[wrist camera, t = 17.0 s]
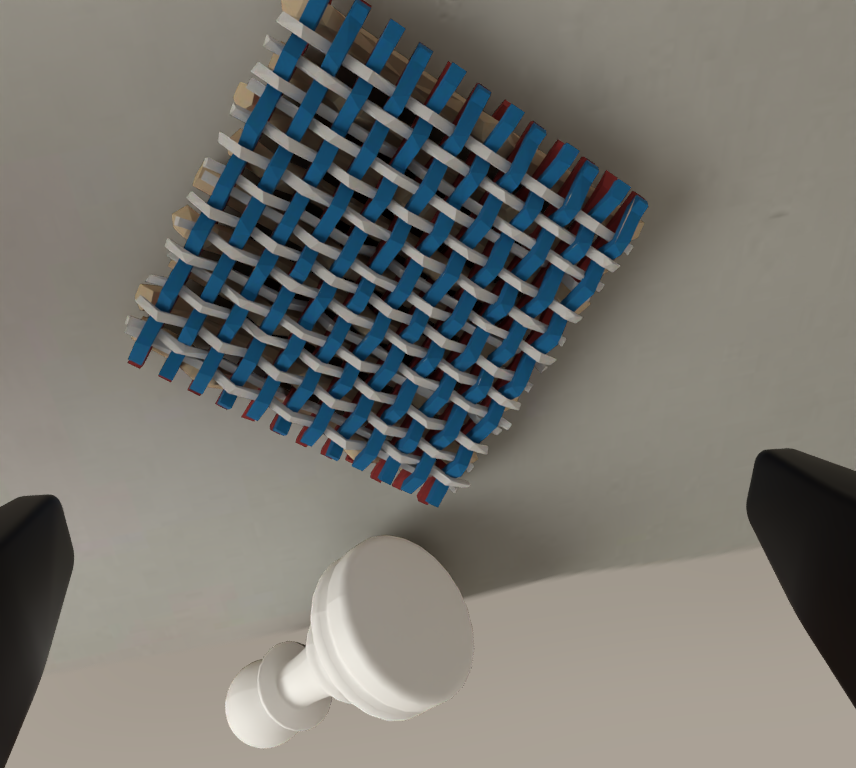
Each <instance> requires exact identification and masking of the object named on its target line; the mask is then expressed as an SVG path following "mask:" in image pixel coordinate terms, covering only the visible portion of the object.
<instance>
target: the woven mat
mask: <svg viewBox="0 0 856 768" xmlns="http://www.w3.org/2000/svg"><path fill="white" fill-rule="evenodd" d="M331 2H332V0H281V3H282V13H281V15H280V16H279V17H278V19H277V20H276V22H277V23H279V24H280V25H282V26H283V27H285V28H286V29H288V30H289V31H291V32H292V34H291V36H290V38H289V39H288V41H287V43H286V44H285V43H283V42H282V41H281V42H279V41H277V40H276V39H274V38H272V37H271V36H269V35H267V36H266V39H265V42H264V45H263V47H265V48H267V49H268V50H270V51H272V52H274V53H273V56H272V58H271V60H270V63H269V65H268V67H269V68H270V69H271V70H273V72H272V71H271V70H269V69H268V68H267V67H265V66H264V65H262V64H261V63H260V62H257V64H256V65H255V66H254V68H253V69H252V70H251V72H252V73H253V74H255V75H256V76H258V77H259V78H261V79H262V80H264V81H265V82H267V85H266V86H265V85H263V84H262V83H260V82H259V81H257V80H256V79H254V78H253V77H251V79H250V81H249V83H248V85H247V84H244V83H242V82H240V83H239V85H238V87H237V90H236V92H235V94H234V97H233V99H234V101H235V103H236V104H235V103H233V105H232V108H231V111H230V115H231V116H233V117H235V118H237V119H239V120H241V121H243V122H245V123H246V124H245V126H244V129H243V130H242V129H241V128H240V129H239V130H238V131H237V132H236V133H235V134H234V135H233V136H232V137H231V138H229V137H227V136H226V135H225V134H223V133H222V132H219V137H218V142H219V143H220V144H221V145H223V146H224V147H225V148H226V149H228V154H229V155H230V156H231V158H230V159H229V161H228V163H227V165H226V166H225V165H223V164H221V163H219V162H217V161H215V160H213V159H211V158H206V157H205V160H204V162H203V164H202V165H201V167H200V169H199V171H198V172H197V174H196V176H195V179H194V182H193V186H194V187H196V188H197V189H199V190H201V191H203V192H205V193H206V194H208V195H210V198H209V200H208V202H207V203H206V202H204V201H203V200H202V199H201V198H199V197H198V196H197V195H196V194H195V193H193V192H192V191H191V192H190V193H189V195H188V196H187V197H186V198H187V199H188V200H189V201H190V202H191V203H192V204H194V205H195V206H196V207H197V208H198V209H199V210H200V211H201V214H198V213H197V212H196V211H195V210H193V209H192V208H191V207H190V206H188V205H186V206H185V207H183V208H181V209H180V210H178V211H176V212H175V213H173V214H172V220H173V228H174V229H175V230H176V231H177V232H179V233H180V234H181V235H182V236H183V237H184V238H185V239H187V242H186V244H185V246H184V248H183V247H181V246H180V245H178V244H177V243H175V242H174V241H172V240H171V239H169V238H168V237H167V241H166V244H165V247H166V248H167V249H168V250H170V251H169V252H168V254H167V256H168V257H169V258H171V259H172V260H171V261H170V263H169V265H168V266H169V267H170V268H172V269H173V270H172V272H171V274H170V276H169V277H168V278H167V277H162V276H158V275H153V274H151V275H150V276H149V277H148V279H147V280H146V281H145V282H149V283H152V284H155V285H148V284H140V286H139V288H138V290H137V293H136V295H135V299H136V301H135V302H136V303H137V304H138V307H139V309H140V310H142V311H146V312H147V313H148V314H149V315H150V316H149V317H148V318H146V317H144V316H143V317H142V319H138V318H135V317H132V316H129V315H128V316H127V319H126V321H125V324H127V325H128V327H127V328H126V330H125V333H127V334H129V335H131V336H132V338H131V339H133V340H135V341H136V342H135V344H134V346H133V349H132V351H131V353H130V356H129V358H128V360H129V361H128V363H129V364H131V365H133V366H135V367H137V368H139V369H140V368H141V367H142V366H143V365H144V363H145V361H146V359H147V357H148V355H149V353H150V352H151V350H153V351H155V352H157V353H159V354H160V355H162V356H164V357H166V358H167V360H166V362H165V363H164V365H163V367H162V369H161V371H160V373H159V375H158V376H159V377H161V378H163V379H165V380H167V381H169V382H172V380H173V378H174V376H175V375H176V373H177V371H178V369H179V367H180V368H181V369H182V370H183V371H184V372H185V373H186V374H187V375H189V376H190V377H191V378H192V379H193V380H192V382H191V384H190V386H189V388H188V391H191V392H193V393H195V394H197V395H199V396H200V395H201V394H203V392H204V390H205V389H206V387H210V388H218V389H223V391H222V392H221V394H220V396H219V398H218V400H217V402H216V403H215V404H216V405H218V406H220V407H222V408H224V409H226V410H227V409H231V408H232V406H233V404H234V402H235V400H236V398H237V396H240V397H244V398H247V399H251V402H250V403H249V405H248V407H247V408H246V410H245V412H244V413H243V415H242V417H243V418H245V419H248V420H251V421H255V420H256V421H258V420H259V419H260V417H261V416H262V415H263V413H264V412H265V411H266V409H267V408H268V407H269V408H271V409H272V410H273V411H275V412H276V413H277V414H276V416H275V417H274V419H273V421H272V423H271V424H270V430H272V431H274V432H276V433H278V434H281V435H283V436H284V435H287V434H288V431H289V429H290V426H291V424H292V423H296V424H300V425H304V427H303V428H302V430H301V432H300V433H299V435H298V436H297V439H296V443H298V444H300V445H302V446H304V447H307V445H309V446H311V447H312V445H313V444H314V443H315V442H316V441H317V440H318V439H319V437H320V436H321V435H322V434H324V435H326V436H327V437H328V440H327V441H326V443H325V444H324V446H323V447H322V450H321V453H320V454H322V455H324V456H326V457H328V458H330V459H334V460H336V461H338V460H339V459H340V456H341V454H342V452H343V450H344V451H345V452H346V453H347V457H346V459H345V460H346V461H348V462H351V463H353V464H352V466H353V467H355V468H357V469H359V470H361V471H363V470H364V469H365V468H366V467H367V466H368V465H369V464H370V463H377V464H376V466H375V467H374V469H373V470H372V472H371V476H370V478H372V479H374V480H376V481H378V482H380V483H381V481H383V482H385V483H387V484H389V485H391V483H392V481H393V479H394V477H395V475H396V473H397V471H398V470H400V471H401V472H400V473H399V474H398V476H397V477H396V479H395V480H394V482H393V484H392V486H393V487H395V488H397V489H399V490H401V491H402V490H403V491H405V492H407V493H409V494H412V493H413V492H414V491H415V490H416V489H417V488H419V487H420V486H421V485H422V484H423V483H424V482H425V483H424V485H423V486H422V488H421V489H420V491H419V493H418V494H417V498H418V501H419V502H421V503H424V504H426V505H428V504H431V505H433V506H436V507H438V506H439V504H440V503H441V501H442V499H443V497H444V495H445V494H446V492H447V490H448V488H449V489H450V490H451V491H452V492H454V493H456V491H457V490H458V488H459V487H462V488H466V487H469V486H471V485H470V483H469V482H468V481H466V480H462V479H457V478H458V477H461V476H462V474H463V473H464V472H465V470H466V471H467V472H470V471H471V470H472V469H473V467H474V465H473V464H472V463H473V462H475V461H476V460H478V458H477V455H476V452H478V453H482V454H486V455H487V452H488V446H487V445H483V444H479V443H480V442H481V441H482V440H483V439H485V438H486V437H487V436H488V435H489V434H490V433H491V432H492V433H493V434H495V435H498V434H499V433H500V432H501V431H502V430H503V429H501V428H500V427H498V425H499V426H501V427H503V428H504V429H506V430H507V431H508V429H509V428H510V426H511V425H512V424H511V423H510V422H509V421H507V420H506V419H505V418H503V417H502V414H503V412H505V411H507V410H509V409H514V410H518V411H519V409H520V406H521V403H519V402H517V401H518V398H519V396H520V394H521V393H522V391H523V390H525V391H527V392H529V391H530V389H531V388H532V386H533V384H532V383H530V382H529V381H528V380H529V378H530V375H531V373H532V370H533V368H534V366H535V367H536V369H537V370H538V371H539V372H540V373H542V372H543V371H544V370H546V369H547V368H548V367H547V365H551V364H552V363H553V362H555V361H556V360H557V359H555V358H553V357H550V356H548V355H545V354H546V353H548V352H549V351H550V350H551V349H553V348H554V347H555V346H557V345H558V344H559V345H560V346H562V345H563V343H564V342H565V340H566V339H567V338H565V337H564V336H563V335H562V333H563V331H564V328H565V326H566V323H567V321H570V322H573V323H577V322H578V321H580V320H581V319H582V318H584V317H582V316H580V315H579V314H580V313H581V312H582V311H583V310H584V309H586V308H587V307H588V306H589V305H590V301H589V300H590V298H591V296H592V295H593V294H594V292H595V290H596V291H597V292H600V291H601V289H602V288H603V286H604V285H605V284H603V283H602V282H600V279H601V277H602V275H603V274H605V273H607V272H608V270H609V271H611V272H614V271H615V270H617V269H618V268H619V267H620V266H621V265H619V264H618V263H616V262H614V261H613V260H614V259H615V258H617V257H618V256H620V255H621V254H622V253H623V252H624V253H626V254H627V255H628V254H629V253H630V251H631V250H632V248H633V245H631V244H630V241H631V240H633V239H636V238H638V236H639V234H640V232H641V229H642V227H643V225H644V222H642V221H641V220H640V219H641V217H642V215H643V214H644V212H645V211H646V209H647V208H648V203H647V201H646V200H645V199H644V198H643V197H641V196H640V195H639V194H637V193H636V192H634V191H632V192H631V193H630V195H629V196H628V197H627V199H626V200H625V201H624V203H623V204H622V205H621V206H619V204H620V203H621V202H622V200H623V199H624V197H625V196H626V194H627V193H628V191H629V190H630V188H631V187H630V186H629V185H627V184H626V183H624V182H623V181H621V180H620V179H618V178H617V177H615V176H614V175H613V174H611V173H610V172H609V171H607V170H606V171H605V173H604V175H603V177H602V178H601V180H600V182H599V183H598V185H597V187H596V188H593V187H592V186H591V184H592V182H593V180H594V179H595V177H596V176H597V174H598V172H599V169H598V167H597V166H596V165H595V164H594V163H593V162H591V161H590V160H588V159H587V158H585V157H581V158H580V160H579V161H578V163H577V164H576V166H575V167H574V169H573V170H572V172H570V171H569V170H567V169H568V168H569V167H570V166H571V164H572V162H573V161H574V159H575V158H576V156H577V155H578V153H579V152H580V151H579V150H577V149H576V148H574V147H573V146H572V145H570V144H569V143H566V144H564V143H563V142H561V141H560V140H559V139H558V140H557V141H556V142H555V144H554V145H553V147H552V148H551V149H550V151H549V152H548V154H547V155H546V154H544V153H543V152H541V151H540V150H538V147H539V145H540V143H541V141H542V140H543V139H544V137H545V136H546V135H547V134H546V130H544V128H542V127H541V126H540V125H538V124H537V123H535V122H534V121H530V123H529V124H528V126H527V128H526V129H525V131H524V132H523V134H522V135H521V137H520V136H518V135H517V134H515V133H514V132H513V130H514V129H515V127H516V126H517V124H518V123H519V121H520V120H521V118H522V116H523V115H524V113H525V112H523V111H522V110H520V109H519V108H517V107H516V106H515V105H513V104H512V103H510V102H508V101H507V100H504V101H503V102H502V104H501V105H500V106H499V107H498V109H497V110H496V111H495V112H494V114H493V115H492V116H490V115H488V114H487V113H485V112H484V111H482V110H483V108H484V107H485V105H486V103H487V101H488V99H489V97H490V95H491V92H490V90H488V89H487V88H485V87H484V86H482V85H481V84H480V83H477V84H476V85H475V87H474V88H473V90H472V92H471V93H470V95H469V97H468V98H467V100H466V99H464V98H463V97H462V96H460V95H459V94H457V93H456V92H454V91H455V90H456V88H457V87H458V85H459V84H460V82H461V80H462V79H463V77H464V76H465V74H466V72H467V71H465V70H464V69H462V68H461V67H459V66H458V65H456V64H455V63H453V62H452V63H450V62H449V61H448V63H447V65H446V66H445V68H444V70H443V72H442V73H441V75H440V77H439V78H438V80H437V79H435V78H434V77H433V76H431V75H430V74H428V73H427V72H425V71H424V69H425V67H426V65H427V63H428V61H429V59H430V57H431V55H432V53H433V51H432V50H431V49H429V48H428V47H426V46H425V45H424V44H422V43H421V42H419V44H418V46H417V47H416V49H415V51H414V53H413V55H412V56H411V58H410V60H408V59H406V58H405V57H404V56H402V55H401V54H399V53H398V52H396V51H395V50H394V48H395V46H396V45H397V43H398V41H399V39H400V38H401V36H402V34H403V32H404V31H405V28H404V27H402V26H401V25H399V24H398V23H397V22H395V21H394V20H392V19H390V20H389V22H388V24H387V26H386V27H385V29H384V31H383V33H382V34H381V36H380V38H379V39H377V38H376V37H375V36H373V35H372V34H370V33H369V32H367V31H366V30H364V29H363V28H361V27H362V25H363V23H364V21H365V19H366V17H367V15H368V13H369V11H370V10H371V5H369V4H368V3H367V2H365V1H364V0H355V1H354V3H353V5H352V7H351V9H350V11H349V13H348V15H347V16H346V17H345V16H344V15H343V14H341V13H340V12H339V11H337V10H336V9H335V8H334V7H332V6H331ZM309 44H310V45H312V46H313V47H315V48H316V49H318V50H320V51H321V52H323V53H324V54H326V56H325V58H324V60H323V62H322V64H321V67H319V66H318V65H316V64H315V63H313V62H312V61H310V60H309V59H307V58H306V57H304V56H303V55H304V53H305V51H306V49H307V47H308V46H309ZM341 65H342V66H344V67H345V68H347V69H348V70H350V71H352V72H353V73H355V74H356V75H358V77H357V79H356V81H355V82H354V84H353V86H352V88H350V87H348V86H347V85H346V84H344V83H343V82H341V81H340V80H338V79H337V78H336V77H335V76H336V74H337V72H338V70H339V68H340V66H341ZM289 82H290V83H292V84H293V85H292V84H290V83H289ZM294 85H295V86H296V87H295V86H294ZM297 87H298V88H297ZM373 87H376V88H377V89H379V90H380V91H382V92H383V93H385V94H386V95H388V96H389V97H388V99H387V100H386V102H385V104H384V106H383V107H380V106H379V105H377V104H375V103H373V102H371V101H369V100H368V99H367V98H368V97H369V95H370V93H371V91H372V89H373ZM300 89H301V90H300ZM303 91H304V92H303ZM283 94H285V95H287V96H289V97H290V98H292V99H294V100H295V101H297V102H299V103H300V104H301V105H300V107H299V108H298V107H297V106H295V105H294V104H292V103H291V102H289V101H288V100H286V99H285V98H283V97H282V96H283ZM404 107H406V108H408V109H409V110H411V111H412V112H414V113H415V114H417V116H416V118H415V120H414V121H413V123H412V125H411V126H409V125H408V124H406V123H405V122H403V121H402V120H400V119H398V117H399V116H400V114H401V113H402V111H403V109H404ZM315 113H317V114H318V115H320V116H321V117H323V118H325V119H326V120H328V121H329V122H331V123H332V124H331V126H330V128H328V127H327V126H325V125H324V124H322V123H321V122H319V121H318V120H316V119H315V118H313V117H314V115H315ZM433 126H435V127H436V128H437V129H439V130H440V131H442V132H443V133H445V135H444V137H443V139H442V140H441V142H440V144H439V145H438V144H437V143H435V142H433V141H432V140H430V139H429V138H428V137H429V136H430V133H431V131H432V128H433ZM263 133H264V134H265V135H266V136H268V137H269V138H271V139H272V140H274V141H275V142H276V143H278V144H279V146H278V148H277V150H276V152H275V153H273V152H271V151H270V150H269V149H267V148H266V147H265V146H263V145H262V144H261V143H259V140H260V138H261V136H262V134H263ZM347 133H349V134H350V135H352V136H354V137H355V138H357V139H358V140H360V141H362V142H363V143H362V144H361V146H358V145H356V144H355V143H353V142H351V141H349V140H347V139H345V136H346V134H347ZM463 147H466V148H467V149H469V150H470V153H469V155H468V158H467V160H466V162H464V161H462V160H461V159H459V158H458V157H456V156H457V155H458V154H459V153H460V152H461V151H462V149H463ZM378 152H380V153H382V154H384V155H386V156H388V157H389V158H391V161H390V163H389V164H387V163H385V162H384V161H382V160H381V159H379V158H378V157H376V156H377V154H378ZM294 154H296V155H298V156H300V157H302V158H304V159H306V160H308V161H310V162H311V163H310V165H309V167H308V169H307V170H306V169H304V168H303V167H300V166H298V165H295V164H292V163H290V160H291V158H292V156H293V155H294ZM490 164H492V165H493V166H495V167H496V168H498V169H499V171H498V172H497V174H496V176H495V177H494V179H493V180H491V179H490V178H488V177H487V176H486V175H487V172H488V170H489V167H490ZM245 167H246V168H248V169H249V170H250V171H252V172H253V173H254V174H256V175H257V176H258V177H260V178H261V180H260V182H259V184H258V186H255V185H254V184H253V183H251V182H250V181H249V180H247V179H246V178H245V177H243V176H242V173H243V171H244V169H245ZM406 169H408V170H410V171H411V172H412V173H414V174H415V175H416V177H415V178H414V180H412V179H410V178H409V177H407V176H405V175H404V173H405V171H406ZM345 171H346V172H345ZM326 172H328V173H330V174H331V175H332V176H334V177H335V178H336V179H338V180H339V181H340V183H339V185H338V187H337V188H336V187H334V186H333V185H331V184H329V183H328V182H326V181H324V180H323V179H322V178H323V177H324V175H325V174H326ZM617 179H618V180H617ZM519 184H522V185H523V187H522V188H521V189H520V190H519V191H518V192H517V193H516V194H515V195H513V194H512V192H513V191H514V190H515V189H516V188H517V187H518V186H519ZM275 189H277V190H280V191H283V192H286V193H289V194H292V195H293V196H292V198H291V200H290V202H288V201H285V200H283V199H281V198H278V197H276V196H273V195H272V194H273V192H274V191H275ZM437 190H439V191H440V192H442V193H444V194H445V195H446V196H445V198H444V199H442V198H440V197H439V196H437V195H436V194H435V193H436V191H437ZM354 191H357V192H359V193H361V194H363V195H365V196H367V197H369V199H368V201H367V202H366V204H365V205H364V204H362V203H361V202H359V201H357V200H356V199H354V198H352V195H353V193H354ZM544 200H546V201H547V202H549V203H550V204H549V206H548V207H547V209H546V210H545V212H544V213H543V214H542V213H541V212H540V211H541V210H542V207H543V203H544ZM308 202H311V203H313V204H314V205H316V206H318V207H319V208H321V209H323V210H324V211H323V213H322V215H321V217H320V218H317V217H315V216H313V215H312V214H310V213H308V212H307V211H305V208H306V206H307V204H308ZM227 205H228V206H229V207H231V208H233V209H235V210H236V211H238V212H240V213H242V216H241V218H238V217H236V216H233V215H231V214H228V213H225V212H224V210H225V208H226V206H227ZM462 206H464V207H465V208H467V209H468V210H470V211H471V212H472V213H471V214H470V216H468V215H466V214H464V213H462V212H461V211H460V209H461V207H462ZM386 208H387V209H388V210H390V211H391V212H393V213H394V214H395V216H394V218H393V220H392V221H390V220H389V219H387V218H385V217H384V216H382V215H381V214H382V213H383V212H384V210H385V209H386ZM573 219H574V220H575V221H574V222H573V223H572V225H571V226H570V228H569V229H568V230H567V229H566V228H564V227H565V226H566V225H567V224H568V223H570V222H571V221H572V220H573ZM339 220H341V221H343V222H345V223H346V224H348V225H350V226H351V228H350V229H349V231H348V232H347V234H344V233H342V232H341V231H339V230H337V229H336V228H335V226H336V225H337V223H338V221H339ZM219 222H221V223H224V224H227V225H230V226H232V227H235V230H234V229H232V228H229V227H225V226H222V225H219V224H218V223H219ZM257 222H258V223H260V224H261V225H263V226H265V227H267V228H268V229H270V230H272V231H273V233H272V235H271V237H270V238H269V237H268V236H267V235H265V234H264V233H263V232H262V231H260V230H259V229H258V228H256V227H255V225H256V224H257ZM492 225H493V226H494V229H493V230H492V229H491V227H492ZM412 226H414V227H416V228H418V229H420V230H423V231H424V233H423V234H422V236H421V238H419V237H417V236H415V235H414V234H412V233H410V229H411V227H412ZM523 232H525V233H526V234H528V235H529V236H528V235H526V234H525V233H523ZM595 233H596V234H597V235H599V236H598V237H597V239H596V240H595V241H594V243H593V244H592V241H593V238H594V235H595ZM249 236H251V237H253V238H254V239H255V240H256V241H258V242H259V243H260V244H259V243H257V242H255V241H253V240H252V239H250V238H249ZM367 236H368V237H370V238H372V239H374V240H375V241H377V242H379V244H378V246H377V247H374V246H369V245H364V244H363V243H364V241H365V239H366V237H367ZM333 239H334V240H333ZM288 240H290V241H292V242H293V243H295V244H297V245H299V246H300V247H302V250H301V252H300V251H297V250H294V249H291V248H289V247H286V246H285V245H286V243H287V241H288ZM335 240H336V241H337V242H339V243H340V244H338V243H337V242H336V241H335ZM515 240H516V241H517V242H519V243H521V244H523V245H522V246H519V245H518V244H516V243H514V241H515ZM442 243H445V244H446V245H447V246H446V247H445V248H444V249H443V250H442V251H441V252H439V251H438V250H437V249H438V248H439V247H440V246H441V244H442ZM591 244H592V245H591ZM262 245H263V246H262ZM203 250H207V251H210V252H214V253H217V254H221V257H220V259H219V261H218V262H217V261H213V260H210V259H207V258H203V257H200V256H201V254H202V252H203ZM358 253H360V254H358ZM362 254H364V255H362ZM397 254H399V255H401V256H402V257H404V258H406V261H405V262H404V264H403V266H402V265H401V264H400V263H398V262H397V261H396V260H395V259H394V258H395V256H396V255H397ZM365 255H368V256H371V257H370V258H368V257H366V256H365ZM284 257H285V258H284ZM286 258H288V259H291V260H294V261H295V263H293V262H291V261H289V260H287V259H286ZM466 259H468V260H469V261H472V262H474V263H475V264H474V266H473V267H472V269H470V268H468V267H467V266H465V265H464V264H465V262H466ZM316 260H317V261H319V262H320V263H321V264H322V265H323V266H322V265H321V264H320V263H319V262H317V261H316ZM236 261H239V262H242V263H244V264H246V265H248V266H249V267H251V268H253V270H252V272H251V273H250V275H249V277H248V276H246V275H244V274H242V273H240V272H238V271H236V270H234V269H232V268H233V266H234V265H235V263H236ZM574 264H575V265H574ZM325 267H326V268H325ZM387 268H389V269H390V270H389V269H387ZM310 270H311V271H312V272H314V273H315V274H316V275H317V276H316V275H314V274H313V273H311V272H310ZM422 272H424V273H425V274H426V275H427V278H426V280H424V279H423V278H421V277H420V275H421V273H422ZM318 276H319V277H318ZM496 276H499V277H500V279H499V280H498V282H497V283H496V284H495V283H493V282H492V281H493V280H494V279H495V278H496ZM267 277H270V278H271V279H273V280H275V281H277V282H279V283H281V286H280V287H279V289H278V291H275V290H273V289H271V288H269V287H267V286H265V285H263V284H264V282H265V281H266V279H267ZM343 277H344V278H348V279H351V280H354V281H356V282H355V283H352V282H350V281H347V280H344V279H342V278H343ZM188 278H190V279H192V280H193V281H195V282H197V283H199V284H200V285H202V286H204V287H205V288H204V290H203V292H202V293H201V295H200V297H198V296H197V295H196V294H195V293H193V292H192V291H191V290H190V289H188V288H187V287H186V286H185V284H186V282H187V280H188ZM158 285H159V286H158ZM341 289H342V290H341ZM374 289H375V290H377V291H379V292H381V293H382V294H384V295H383V296H382V297H381V298H379V297H378V296H377V295H376V294H374V293H373V291H374ZM449 289H451V290H455V291H457V292H456V293H455V295H454V297H451V296H450V295H448V294H446V293H447V292H448V291H449ZM343 290H345V291H348V292H349V294H348V293H347V292H345V291H343ZM518 291H520V292H522V293H524V294H523V296H522V297H521V299H520V298H519V297H517V294H518ZM296 293H298V294H301V295H303V296H304V297H306V298H308V299H310V300H309V302H308V301H302V300H297V299H293V298H294V296H295V294H296ZM218 295H220V296H222V297H223V298H225V299H227V300H229V301H231V302H232V303H234V305H233V306H232V308H231V309H228V308H224V307H221V306H218V305H214V302H215V300H216V298H217V296H218ZM269 300H270V301H271V302H270V301H269ZM477 300H478V301H479V302H481V303H483V304H482V306H481V307H480V309H479V310H478V312H477V313H475V312H474V311H473V310H472V309H473V307H474V305H475V303H476V301H477ZM368 302H369V303H370V304H372V305H373V306H374V307H373V308H372V309H369V308H368V307H367V306H366V305H367V303H368ZM401 305H404V306H405V307H407V308H409V309H410V310H409V312H408V313H404V312H401V311H398V310H397V309H398V308H399V307H400V306H401ZM325 309H328V310H330V311H332V312H334V313H336V316H335V317H334V319H333V320H332V319H331V318H330V317H328V316H327V315H326V314H325V313H324V311H325ZM299 311H301V312H302V313H300V312H299ZM246 316H248V317H249V318H250V319H251V320H252V321H254V322H255V323H256V324H257V325H258V326H256V325H255V324H253V323H252V322H251V321H250V320H248V319H247V318H246ZM505 316H506V318H505V319H504V320H503V321H502V322H501V323H500V324H499V325H498V326H497V327H496V326H494V324H495V323H496V322H497V321H499V320H500V319H502V318H503V317H505ZM428 320H430V321H432V322H433V323H435V326H434V327H431V326H430V325H429V324H428V323H427V322H428ZM317 321H318V322H317ZM398 321H399V322H398ZM400 322H402V323H400ZM165 323H166V324H171V325H175V326H180V327H183V329H182V331H181V333H180V335H177V334H175V333H173V332H172V331H170V330H168V329H166V328H164V327H163V326H164V325H165ZM350 327H352V328H354V329H355V330H356V331H357V334H356V333H354V332H352V331H350V330H349V329H350ZM527 329H530V330H532V331H531V332H530V334H529V335H528V336H527V338H526V339H525V341H524V340H522V339H523V337H524V335H525V333H526V331H527ZM422 333H424V334H425V335H427V337H425V336H423V335H422ZM197 334H198V335H199V336H200V337H201V338H202V339H204V340H205V341H206V342H207V343H208V344H209V345H211V347H210V349H209V350H204V349H200V348H196V347H195V346H194V345H193V344H192V343H193V342H194V340H195V338H196V336H197ZM272 334H274V335H282V336H288V338H287V339H284V338H279V337H275V336H271V335H272ZM454 335H456V336H458V337H460V339H459V340H458V342H455V341H452V340H450V339H451V338H452V337H453V336H454ZM306 342H307V343H309V344H311V345H313V346H315V347H316V349H315V350H314V352H313V353H312V354H311V353H310V352H308V351H307V350H306V349H304V348H303V347H304V345H305V343H306ZM380 343H383V344H387V345H388V346H387V347H386V349H383V348H382V347H380V346H379V344H380ZM450 350H451V351H450ZM405 353H406V354H408V355H412V356H414V358H413V359H412V361H411V362H410V364H409V365H408V366H406V365H405V364H404V363H403V362H402V360H403V358H404V355H405ZM224 354H230V355H235V356H240V357H241V358H240V360H239V362H238V363H237V364H235V363H233V362H231V361H229V360H227V359H225V358H224V357H223V356H224ZM333 356H334V357H336V358H338V359H340V360H342V361H343V363H342V364H341V366H340V367H337V366H334V365H330V364H328V363H329V361H330V360H331V359H332V357H333ZM304 362H305V363H304ZM256 365H258V366H259V367H260V368H261V369H263V370H264V371H265V372H266V373H267V374H266V376H265V378H263V377H261V376H259V375H257V374H255V373H253V372H252V371H253V370H254V368H255V367H256ZM501 366H503V367H506V368H505V369H503V368H500V367H501ZM435 368H436V369H437V370H435V371H434V372H433V373H432V374H431V375H430V376H429V377H428V378H426V377H427V376H428V375H429V374H430V373H431V372H432V371H433V370H434V369H435ZM360 371H363V372H364V373H366V374H368V377H367V379H366V380H365V382H364V381H362V380H361V379H360V378H359V377H358V374H359V372H360ZM457 381H458V382H459V383H462V385H461V386H460V387H459V389H458V390H457V392H456V391H455V390H453V389H454V387H455V385H456V383H457ZM281 382H285V383H290V384H291V385H292V386H291V388H290V391H289V390H287V389H285V388H283V387H281V386H279V385H280V383H281ZM386 385H389V386H391V387H393V390H392V391H391V393H390V394H387V393H382V392H380V391H381V390H382V389H383V388H384V387H385V386H386ZM312 394H315V395H316V396H317V397H318V398H319V399H320V400H319V402H318V404H316V403H314V402H312V401H309V400H308V399H309V398H310V396H311V395H312ZM482 399H483V400H482ZM481 400H482V402H481V403H480V405H479V404H476V403H478V402H479V401H481ZM411 403H412V404H411ZM335 409H337V410H342V411H345V413H344V415H343V416H341V415H339V414H337V413H335V412H334V411H335ZM434 415H440V416H439V417H438V419H434V418H432V417H433V416H434ZM366 420H367V421H368V422H369V423H368V424H367V425H366V426H365V427H363V426H362V424H363V423H364V422H365V421H366ZM463 423H464V424H465V425H463ZM462 425H463V426H462ZM387 435H389V436H394V437H393V439H392V440H391V441H390V440H386V436H387ZM417 446H418V447H417ZM416 447H417V449H416V450H415V448H416ZM414 450H415V452H414ZM436 458H437V461H436ZM435 461H436V462H435Z"/></svg>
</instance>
